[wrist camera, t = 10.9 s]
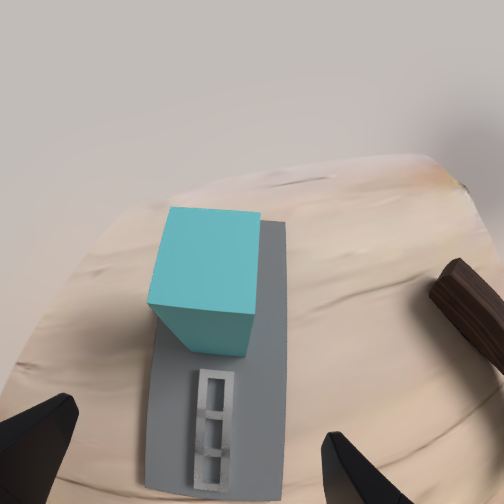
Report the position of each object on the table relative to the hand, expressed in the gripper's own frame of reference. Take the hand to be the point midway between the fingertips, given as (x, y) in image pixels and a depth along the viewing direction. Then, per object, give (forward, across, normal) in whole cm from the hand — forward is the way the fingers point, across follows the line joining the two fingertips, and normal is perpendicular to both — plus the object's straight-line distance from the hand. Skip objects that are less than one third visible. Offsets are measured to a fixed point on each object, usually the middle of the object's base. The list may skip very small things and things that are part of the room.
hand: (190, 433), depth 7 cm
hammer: (+10, -30, +8) cm, 33 cm away
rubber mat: (+12, 0, +5) cm, 13 cm away
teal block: (+13, 0, +3) cm, 13 cm away
